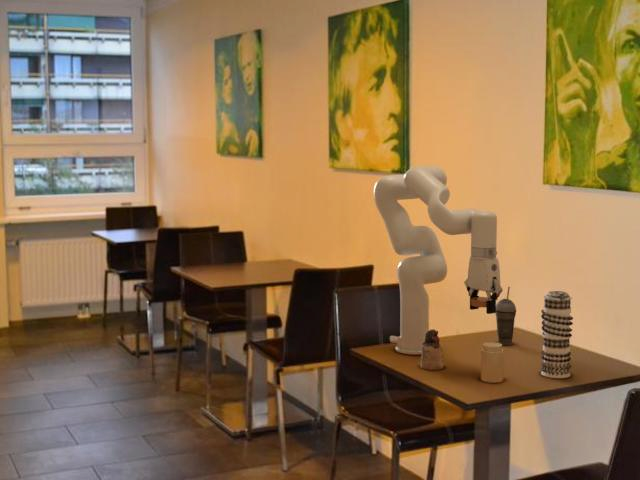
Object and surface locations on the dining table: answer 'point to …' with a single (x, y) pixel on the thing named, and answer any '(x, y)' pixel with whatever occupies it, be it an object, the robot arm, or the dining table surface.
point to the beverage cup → (505, 320)
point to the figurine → (432, 352)
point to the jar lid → (479, 301)
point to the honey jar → (492, 362)
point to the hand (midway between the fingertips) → (482, 310)
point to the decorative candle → (556, 335)
